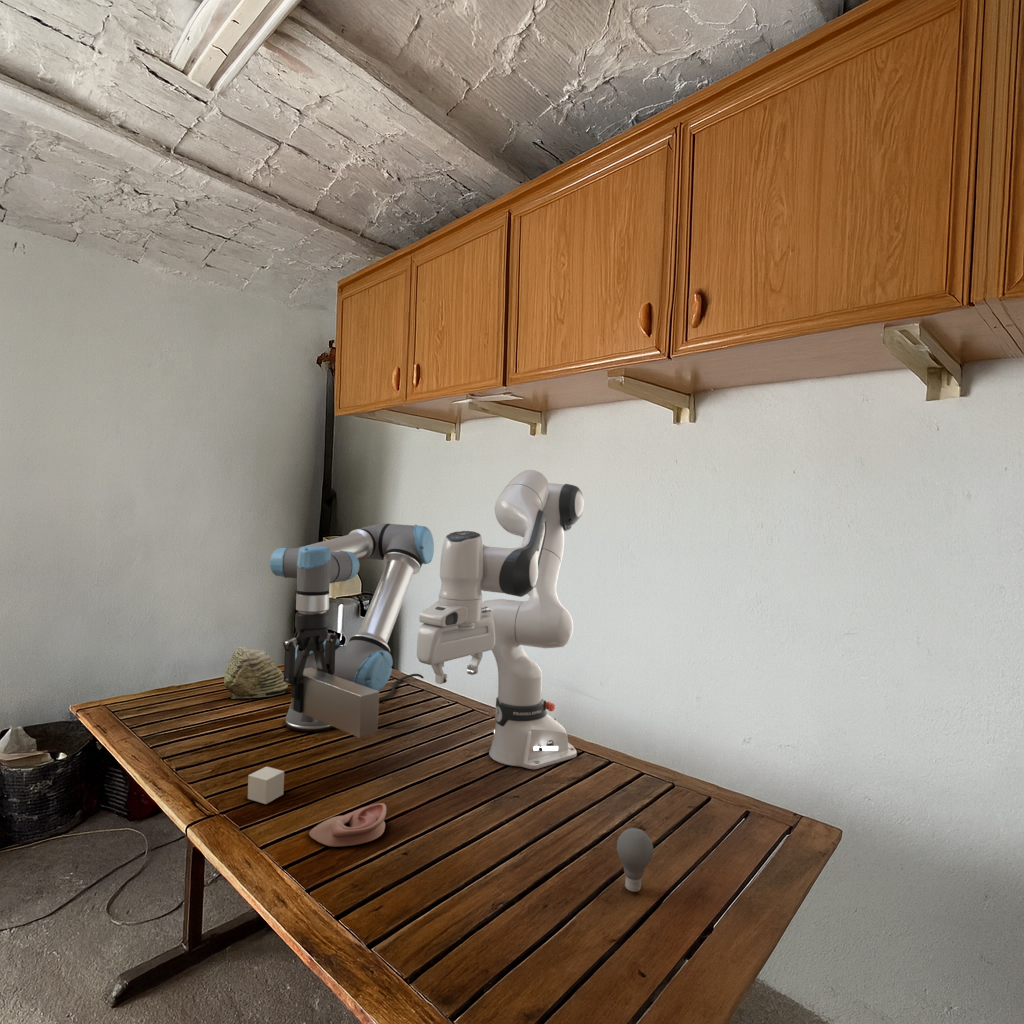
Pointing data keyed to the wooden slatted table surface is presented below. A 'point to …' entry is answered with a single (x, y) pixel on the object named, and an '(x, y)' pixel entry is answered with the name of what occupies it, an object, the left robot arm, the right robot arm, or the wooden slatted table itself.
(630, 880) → the light bulb
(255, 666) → the fossil
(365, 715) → the beam
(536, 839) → the wooden slatted table surface
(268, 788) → the plastic block
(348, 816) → the anatomical model
